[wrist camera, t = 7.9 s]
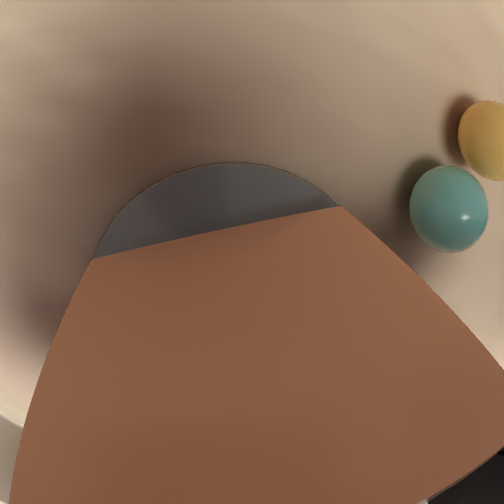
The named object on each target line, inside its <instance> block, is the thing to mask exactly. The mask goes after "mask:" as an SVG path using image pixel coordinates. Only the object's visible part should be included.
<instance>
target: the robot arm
mask: <svg viewBox="0 0 504 504" xmlns="http://www.w3.org/2000/svg"><path fill="white" fill-rule="evenodd" d="M428 504H504V447H503V448H502V449H501V450H500V451H499V452H497V453H496V454H495V455H494V456H493V457H491V458H490V459H489V460H488V461H487V462H485V463H484V464H483V465H481V466H480V467H479V468H478V469H476V470H475V471H474V472H472V473H471V474H470V475H468V476H467V477H465V478H464V479H463V480H461V481H460V482H458V483H457V484H455V485H454V486H452V487H451V488H449V489H448V490H446V491H445V492H443V493H441V494H440V495H438V496H437V497H435V498H433V499H432V500H430V501H428Z"/></svg>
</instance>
